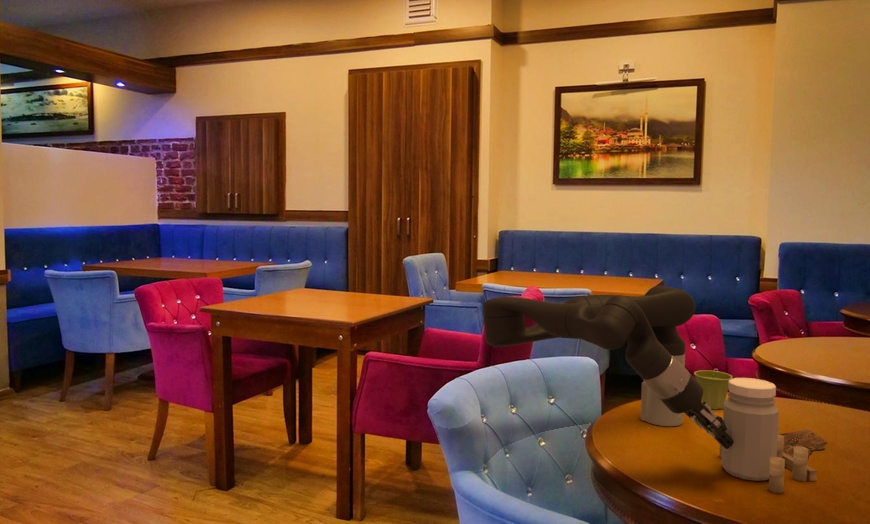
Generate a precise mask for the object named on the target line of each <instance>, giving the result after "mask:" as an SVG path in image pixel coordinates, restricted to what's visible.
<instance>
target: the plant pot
mask: <svg viewBox="0 0 870 524" xmlns="http://www.w3.org/2000/svg"><path fill="white" fill-rule="evenodd" d="M693 373H694V376H695V379H696V380H697V382H698V383H699V384H700V385H701V386H702V388H703V396H702V399H701V401H702V402H706V403H707V404H708V405H709V406H710V407H711V410H713V409H716V410H719V409H720V410H724V402H725V401H726V400H727V396H728V391H729V389H728V382H729V380H731V379H734V378H733V375H732V374H729V373H726V372H722V371H718V370H717V371H716V370H707V369H706V370H702V369H701V370H697V371H694V372H693Z"/></svg>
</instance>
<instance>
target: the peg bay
mask: <svg viewBox="0 0 870 524" xmlns="http://www.w3.org/2000/svg"><path fill="white" fill-rule="evenodd" d="M779 434H780V433H778V442H777V457H775V456H773V457H770V470H769V479H768V491H770V492H771V493H773V494H783V493H784V487H785V485H784V484H785V468H786V467H787V468H786V469H788V468H789V469H788V470H790V469H791V470H790V471H791V472H792V476H791V477H792V479H793V480H795V481H798V482H807V481H808V482H816V481H817V475H818V471H817V470H816V469H815V468H813V467H811V466H809V465H808V461H809V457H808V449H807V448H805V447H801V446H795V447H794V455H793V457H791V456H790V455H788V454H786V453H783V445H784V436H782V435H779ZM719 458H720V459H721V460H722V446H721V445H720V444H719ZM785 466H786V467H785Z"/></svg>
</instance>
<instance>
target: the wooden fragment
mask: <svg viewBox="0 0 870 524" xmlns="http://www.w3.org/2000/svg"><path fill="white" fill-rule="evenodd" d="M804 430H805V431H804ZM778 434H779V435H782V436H784V445H783V453H786V454H788V455H790V456H791V457H793V455H794V447H795V446H801V447H805V448H807V449H808V458H809V457H810V455H812V454H813V452H814V451H821V450H824V449H825V448H826V446H825V444H827V443H828V441H826V440H824V439H823V438H822V437H821V436H819V435H817V434H815V433H814V431H812V430H810V429H803V431H801V430H797V431H791V432H784V433H778ZM795 438H796V439H795ZM792 439H793V440H792ZM797 439H798V440H797ZM795 440H796V441H795Z"/></svg>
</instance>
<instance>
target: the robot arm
mask: <svg viewBox="0 0 870 524" xmlns="http://www.w3.org/2000/svg"><path fill="white" fill-rule="evenodd" d="M482 306H483V307H482V309H483V310H482V312H483V325H484V337H485V342H486V343H487V344H488V345H489V346H491V347H497V348H498V347H499V348H502V347H511V346H517V345H523V344H529V343H533V342H540V341H543V340H544V341H546V340H550V339H560V338H561V339H577V340H582V341H584V342H587V343H590V344H593V345H595V346H597V347H600V348H602V349H604V350H607V351H612V350H618V349H620V348H622V347H623V346H624V345H625V344H626V343H627V345H626V349H625V353H624V358H625V361H626V362H627V363H628V365H629V366H630V367H631V368H632V369H633V370H634V371H635V372H636V374H637V375H638V376H640V378H641V379H642V380H643V382H641V396H640V397H641V403H640V421H644V422H647V423H649V424H651V425H655V426H661V427H677V426H681V425H682V424H683V421H684V415H685V417H687V418H689V419H690V420H691V421H692V422H693V423H694V424H695V425H696V426H697V427H699V428H700V429H702V430H704V431H705V432H706V434H708V435H710V436H712V438H713V439H714V440H715V441H716V442H717V443H718V444H719V446H720V445H721V446H722V447H724V448H726V449H728V448H729V447H730V446H731V445H732V444H733V443H734V441H733V439H732V438H731V437H730V436H729V435H728V434H727V433H726V432H725V431H726V430H727V428H726V425H725V423H724V421H723V417H721V416H719V415H716V414H715V412H714V410H713V409H711V407H710V406H709V405H708V404H707V403H706V402H702V401H701V399H702V396H703V388H702V386H701V385H700V384H699V383H698V382H697V380H696V377H694V376H693V375H692V374H691V372H689V370H688V369H687V368H686V367H685V366H686V364H685V363H686V342H685V340H683V338H682V337H681V336H680V334H679V333H678V329H677V327H679V326H682V325H683V326H684V325H685V324H686V323H687V322H689V321H690V320H691V318H693V316H694V314H695V312H696V304H695V301H694V299H693V297H692V296H691V295H690V294H689V293H688V292H686V291H685V290H683V289H680V288H676V287H670V286H667V285H666V286H665V285H656V286H655V285H654V286H653V287H651V288H649V289H648V290H647V292H646V293H645V295H643V296H642V295H640V296H632V295H621V294H590V295H589V294H588V295H581V296H575V297H572V298H570V299H568V300H567V301H565V302H564V303H560V302H559V303H556V302H547V301H543V300H538V299H531V298H525V297H518V296H499V297H493V298H489V299H487V300H486V301H485V302H483V305H482ZM525 316H526V317H528V318H529V319H530V320H532V321H533V322H534V323H535V324H534V325H531V326H529V327H526V323H525V321H526V320H525Z"/></svg>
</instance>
